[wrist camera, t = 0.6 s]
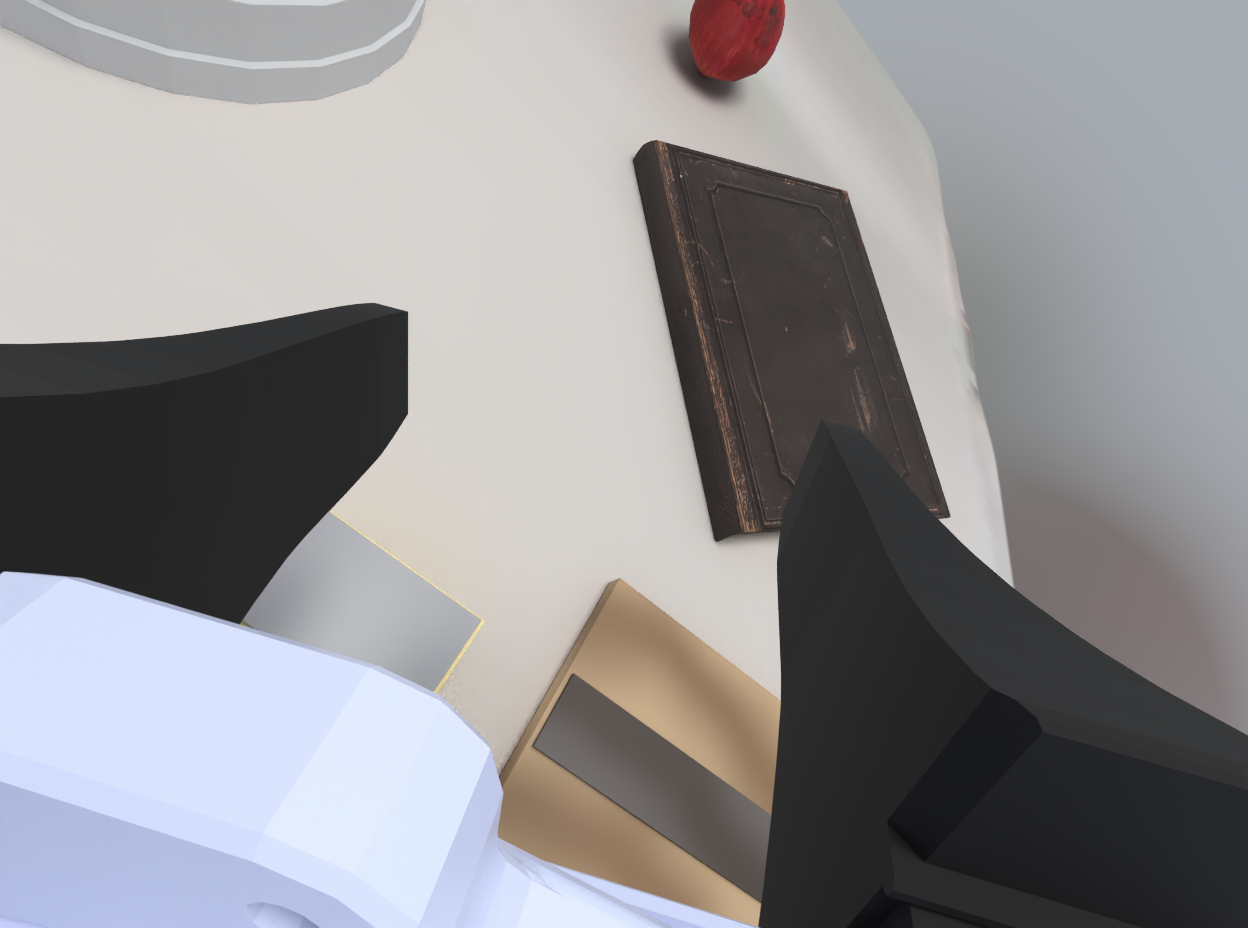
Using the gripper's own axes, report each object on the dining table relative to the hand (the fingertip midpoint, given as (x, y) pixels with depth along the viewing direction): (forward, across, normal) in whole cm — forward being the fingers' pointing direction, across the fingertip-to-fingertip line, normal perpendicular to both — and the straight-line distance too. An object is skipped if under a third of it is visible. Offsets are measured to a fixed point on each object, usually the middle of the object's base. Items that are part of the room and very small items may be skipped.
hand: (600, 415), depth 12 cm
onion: (+43, +3, -2) cm, 43 cm away
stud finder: (+5, +9, +14) cm, 17 cm away
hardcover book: (+29, -6, +10) cm, 31 cm away
